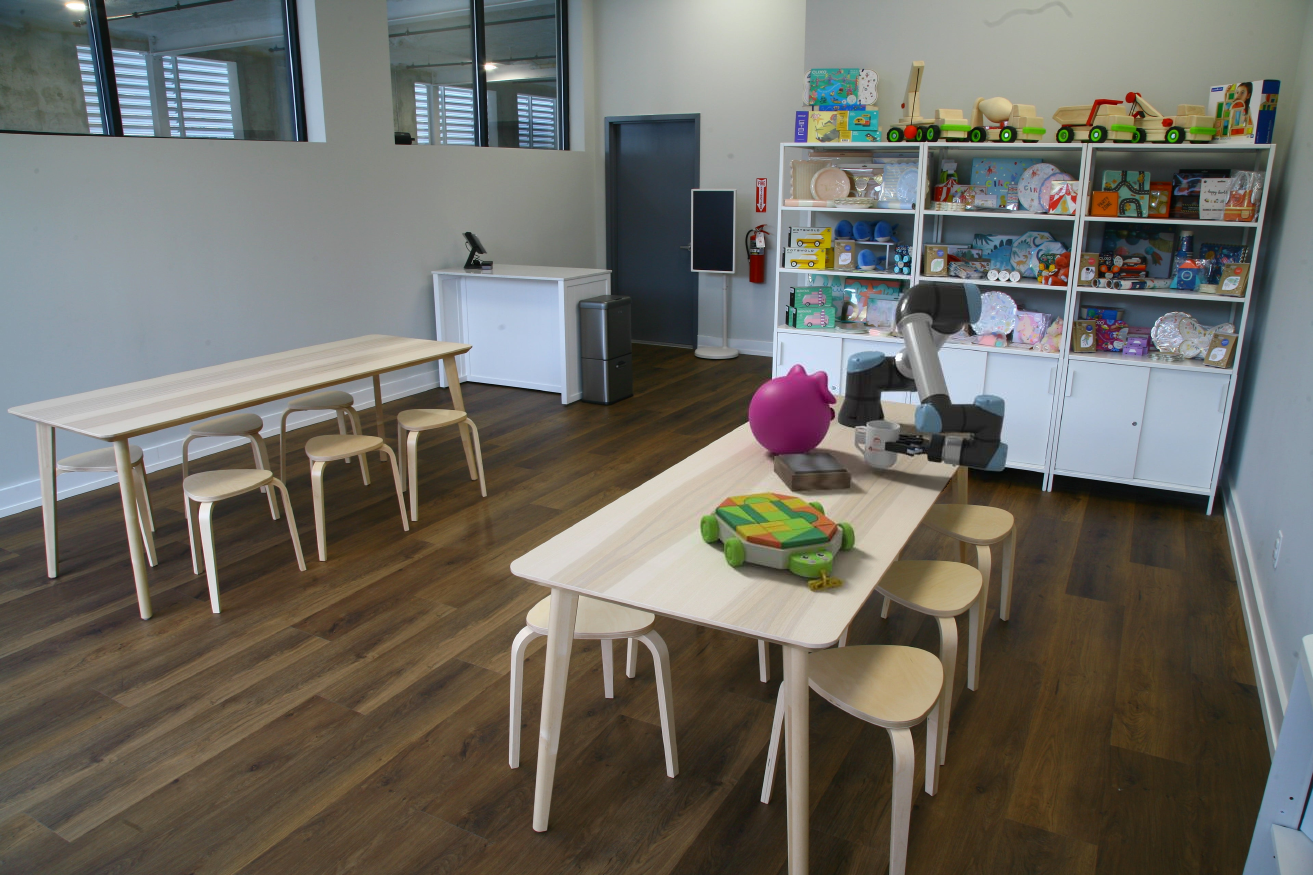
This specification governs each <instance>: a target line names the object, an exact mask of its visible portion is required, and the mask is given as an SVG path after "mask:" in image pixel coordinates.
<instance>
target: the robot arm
mask: <svg viewBox="0 0 1313 875" xmlns="http://www.w3.org/2000/svg"><path fill="white" fill-rule="evenodd" d="M981 294H982V293H981V291H980V289H979V287H978V285H977V284H975V283H973V282H965V281H963V282H920V283H917V284H915V285H913V286H911V287H910V288H908V289H907V290H906V291H905V292H904V293H903V294H902V296H901V297H900V299H899V301H898V302H897V305H896V309H895V316H894V319H895V320H894V321H895V325H896V326H895V327H896V329H897V332H898V333H899V334H901V335H902V338H903V341H904V346H905V348H902V349H900V350H899V351H898V352H897V354H896V355H895V356H894V355H893V356H886V355H885V353H884V352H882V351H877V350H874V351H873V350H869V351H868V350H866V351H861V352H857V353H854V354H852V355H850V356H849V357H848V359H847V366H846V369H845V371H846V375H845V376H846V378H845V392H844V398H843V402H842V404H841V407H840V409H839V411H838V414H837V422H838V423H839V424H841V425H843V426H847V427H851V428H855V427H856V426H865V427H867V423H868V422H870V421H885V417H886V416H885V413H884V409H883V405H882V393H887V392H889V393H890V392H891V393H892V392H893V393H894V392H897V393H898V392H899V393H900V392H901V393H903V392H909V393H917V394H918V397H919V402H920V404H918V405H917V407H916V409H915V411H914V425H915V428H916V430H917V431H918V432H920V433H922V434H908V433H907V434H905V433H900V434H899V440H897V441H896V442H885V451H890V452H895V453H898V454H900V455H906V456H908V457H911V458H912V457H915V455H916V456H921V455H926V458H927V461H928V462H931V463H937V464H941V463H942V462H943V463H944V464H945V465H952V467H954V468H955V467H956V466H958V467H960V466H961V467H966V468H973V469H978V470H983V471H992V472H993V471H994V472H1002V471H1004V470H1005V468H1006V464H1007V457H1008V449H1009V446H1008V444H1007V443H1004V442H1001V441H1002V440H1001V436H1002V430H1003V424H1004V420H1005V411H1006V410H1005V409H1006V403H1005V400H1004V399H1003V397H1001V396H997V395H993V394H980V395H976V396H975V397H974V399H973V402H972V403H952V400H951V397H950V393H949V391H948V386H947V383H946V380H945V375H944V371H943V368H942V365H941V360H940V357H939V354H938V353H939V352H940V351H941V349H942V348H943V346H944V345H945V343H946V342H947V341H948V340H949V339H950V338H949V337H950V336H952V335H956V334H957V333H959V332H961V331H962V329H963V328H964V326H965V325H969V326H972V325H977V324H978V322H979V321H980V319H981V316H982V308H983V303H982V302H983V301H982V295H981ZM956 433H957V434H969V437H968V438H966V437H961V436H954V435H948V436H947V437H946V436H945V435H944V434H956ZM923 434H930V437H929V439H928V438H924V436H923ZM865 438H866V431H859V430H858V433H856V437H855V436H854V444H855V443H858V445H865Z"/></svg>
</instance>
